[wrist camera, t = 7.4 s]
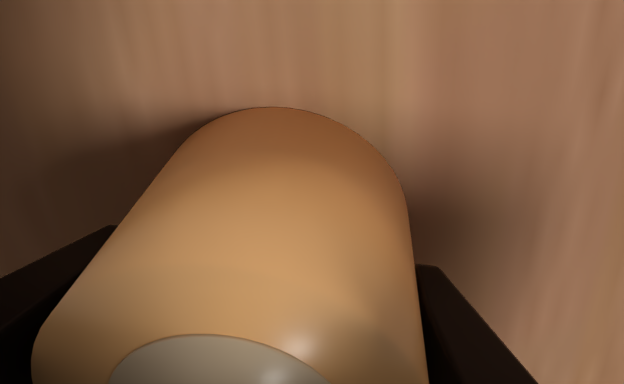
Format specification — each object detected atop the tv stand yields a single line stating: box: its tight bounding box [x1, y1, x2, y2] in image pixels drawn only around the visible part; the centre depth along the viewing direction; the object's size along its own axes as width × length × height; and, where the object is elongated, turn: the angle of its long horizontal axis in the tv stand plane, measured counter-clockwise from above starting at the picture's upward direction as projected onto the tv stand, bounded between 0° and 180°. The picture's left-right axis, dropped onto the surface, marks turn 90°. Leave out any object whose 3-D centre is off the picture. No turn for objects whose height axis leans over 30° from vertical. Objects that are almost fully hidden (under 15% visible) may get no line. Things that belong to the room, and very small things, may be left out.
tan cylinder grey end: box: [31, 107, 429, 384], centre depth 8 cm, size 5×5×5 cm
